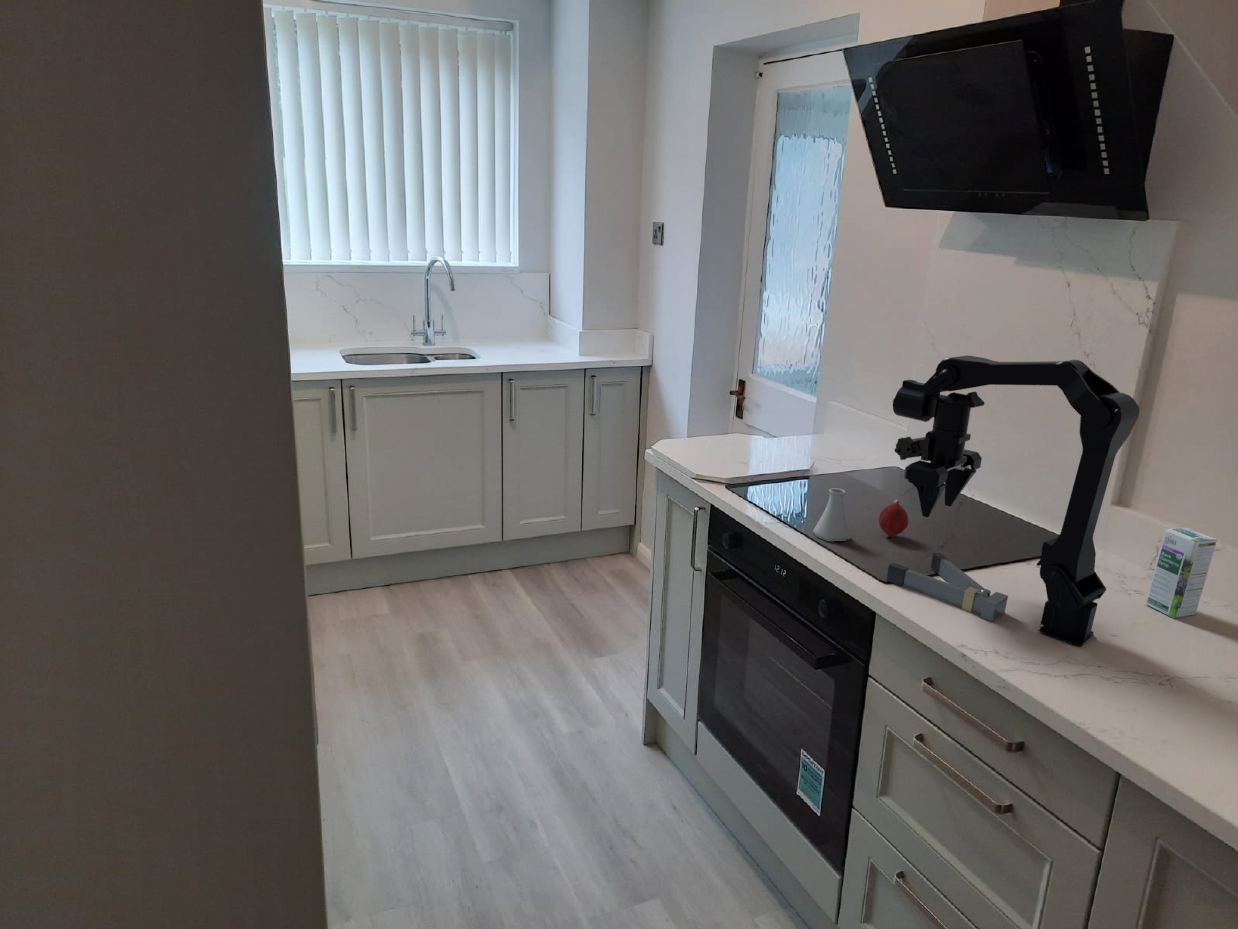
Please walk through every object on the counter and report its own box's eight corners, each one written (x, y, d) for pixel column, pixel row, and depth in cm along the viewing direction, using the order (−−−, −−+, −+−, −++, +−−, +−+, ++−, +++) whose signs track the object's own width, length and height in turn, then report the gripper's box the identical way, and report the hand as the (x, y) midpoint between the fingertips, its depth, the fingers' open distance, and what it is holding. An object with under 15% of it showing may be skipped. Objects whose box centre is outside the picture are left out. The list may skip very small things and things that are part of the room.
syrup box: (1143, 604, 151) (1163, 528, 147) (1167, 600, 153) (1187, 525, 149) (1173, 619, 146) (1194, 541, 142) (1197, 615, 148) (1219, 538, 144)
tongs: (1004, 612, 145) (1008, 593, 144) (992, 622, 141) (996, 602, 140) (898, 574, 158) (901, 556, 157) (884, 581, 155) (887, 563, 154)
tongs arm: (990, 609, 145) (993, 592, 144) (980, 610, 145) (984, 593, 144) (938, 567, 162) (941, 552, 161) (929, 567, 161) (932, 552, 160)
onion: (906, 543, 173) (912, 506, 171) (877, 540, 174) (883, 503, 172) (903, 533, 179) (909, 497, 176) (875, 530, 180) (880, 494, 177)
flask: (856, 541, 173) (863, 495, 170) (826, 544, 170) (833, 497, 168) (835, 528, 180) (841, 483, 177) (806, 531, 177) (812, 486, 174)
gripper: (930, 411, 161) (918, 490, 165) (882, 426, 148) (871, 510, 153) (988, 423, 154) (975, 504, 158) (943, 439, 141) (930, 527, 145)
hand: (937, 511), depth 154 cm, fingers open, 9 cm apart
